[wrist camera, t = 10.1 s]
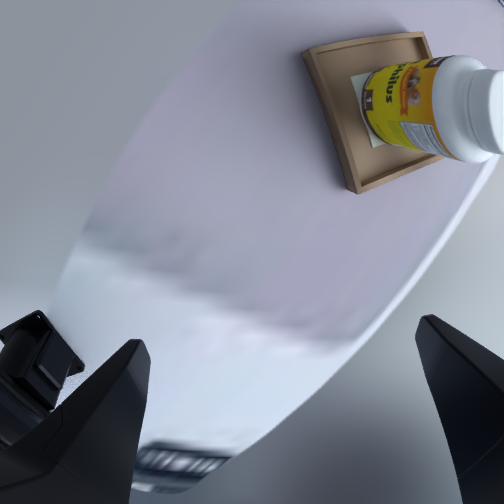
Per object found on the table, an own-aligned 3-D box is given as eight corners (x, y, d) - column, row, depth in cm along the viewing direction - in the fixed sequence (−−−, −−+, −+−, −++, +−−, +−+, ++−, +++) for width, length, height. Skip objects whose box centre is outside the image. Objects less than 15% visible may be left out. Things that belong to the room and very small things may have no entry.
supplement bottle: (384, 52, 16) (502, 31, 7) (429, 110, 18) (543, 125, 9) (338, 102, 17) (459, 98, 8) (390, 161, 19) (507, 199, 10)
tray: (348, 190, 20) (358, 194, 19) (301, 53, 16) (308, 48, 15) (444, 150, 20) (455, 153, 19) (412, 34, 16) (423, 31, 15)
